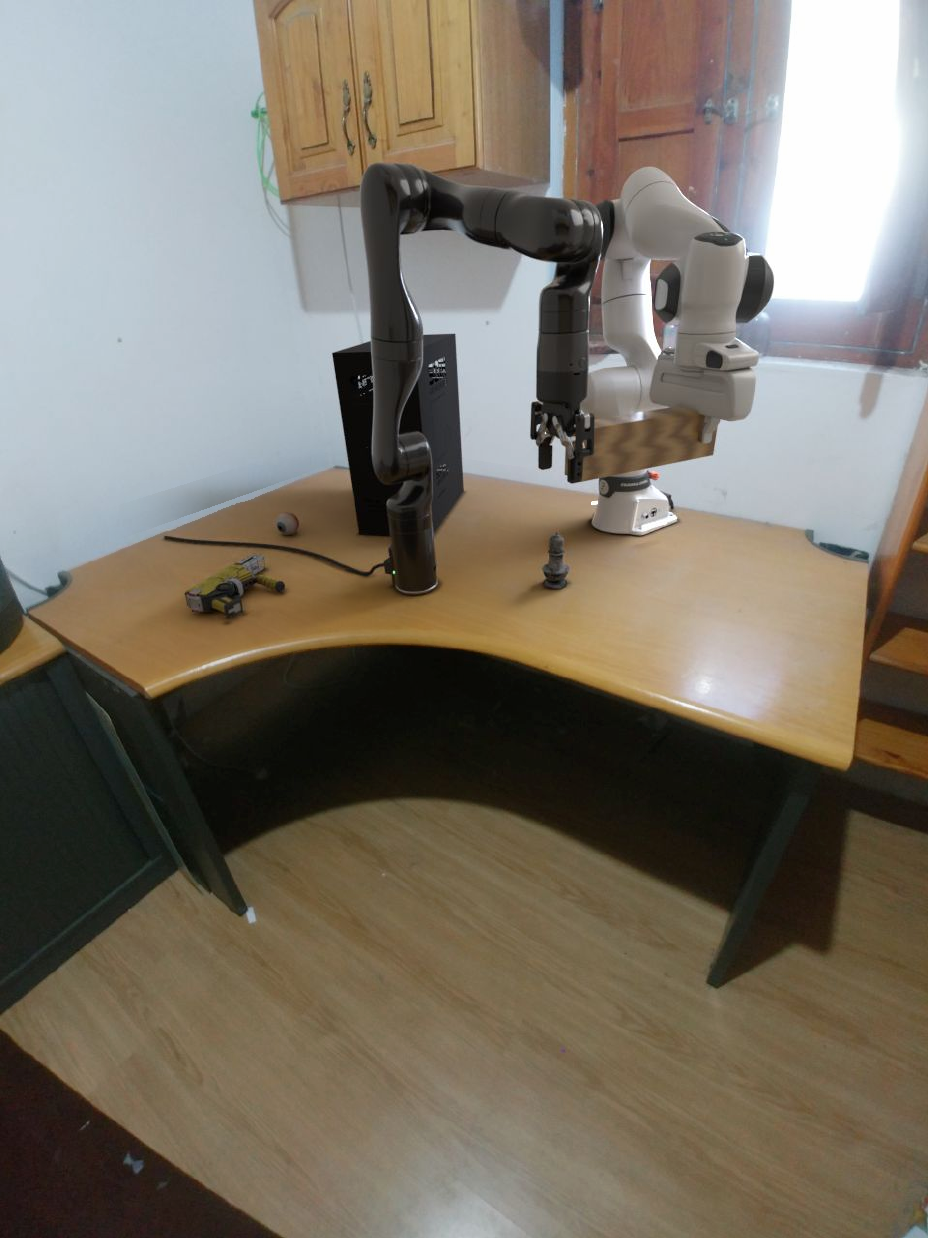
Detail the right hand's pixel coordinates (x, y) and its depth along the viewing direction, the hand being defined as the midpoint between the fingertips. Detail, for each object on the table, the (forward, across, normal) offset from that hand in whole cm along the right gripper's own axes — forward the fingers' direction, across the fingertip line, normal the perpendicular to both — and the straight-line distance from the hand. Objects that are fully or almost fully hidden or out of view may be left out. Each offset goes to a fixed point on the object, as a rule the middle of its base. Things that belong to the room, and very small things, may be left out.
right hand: (691, 438), depth 104 cm
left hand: (+2, 0, -27) cm, 27 cm away
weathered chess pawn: (+33, -20, -14) cm, 41 cm away
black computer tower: (+33, -80, -25) cm, 90 cm away
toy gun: (+33, -49, -75) cm, 96 cm away
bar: (+3, 0, -10) cm, 11 cm away
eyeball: (+33, -81, -61) cm, 107 cm away
